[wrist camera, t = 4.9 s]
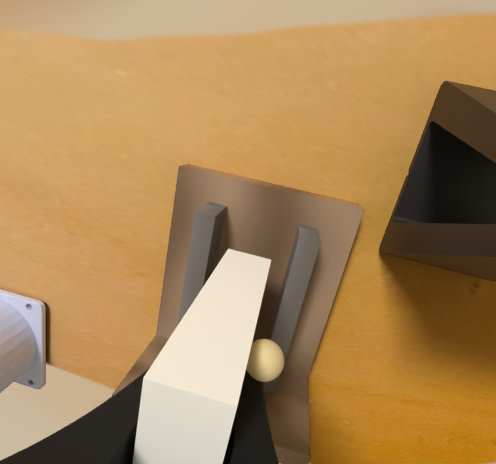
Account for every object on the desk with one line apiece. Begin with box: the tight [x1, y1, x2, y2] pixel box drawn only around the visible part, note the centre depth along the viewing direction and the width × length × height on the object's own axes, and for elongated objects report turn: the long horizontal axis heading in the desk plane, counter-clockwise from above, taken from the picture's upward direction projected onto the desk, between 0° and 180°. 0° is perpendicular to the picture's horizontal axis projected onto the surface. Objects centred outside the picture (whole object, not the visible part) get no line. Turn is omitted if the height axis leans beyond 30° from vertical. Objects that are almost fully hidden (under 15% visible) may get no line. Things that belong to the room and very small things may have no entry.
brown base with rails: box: [112, 164, 364, 464], centre depth 16 cm, size 10×12×6 cm
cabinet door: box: [133, 249, 284, 464], centre depth 11 cm, size 3×7×8 cm, turn 169°
